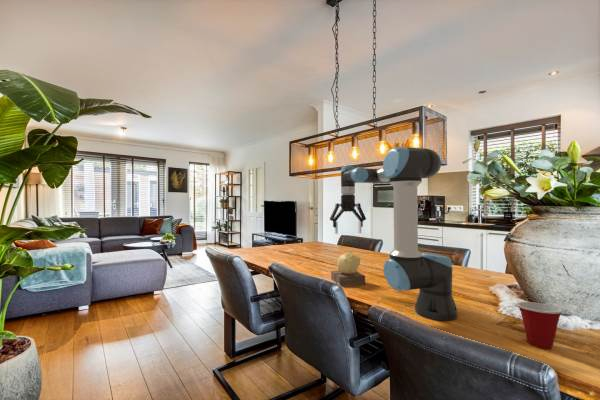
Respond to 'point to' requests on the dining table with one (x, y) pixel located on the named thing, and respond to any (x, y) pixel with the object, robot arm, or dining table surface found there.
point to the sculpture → (348, 263)
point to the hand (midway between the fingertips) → (348, 233)
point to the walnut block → (348, 278)
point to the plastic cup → (540, 323)
